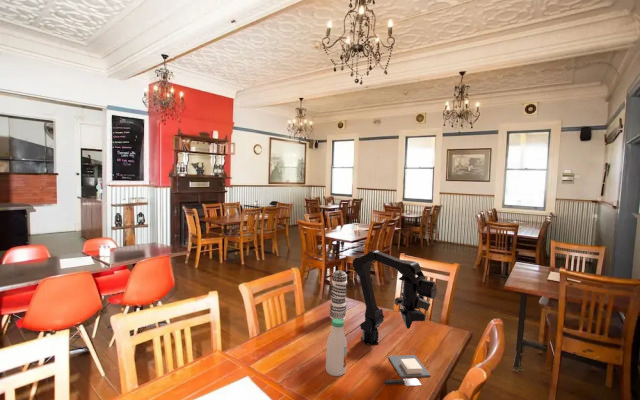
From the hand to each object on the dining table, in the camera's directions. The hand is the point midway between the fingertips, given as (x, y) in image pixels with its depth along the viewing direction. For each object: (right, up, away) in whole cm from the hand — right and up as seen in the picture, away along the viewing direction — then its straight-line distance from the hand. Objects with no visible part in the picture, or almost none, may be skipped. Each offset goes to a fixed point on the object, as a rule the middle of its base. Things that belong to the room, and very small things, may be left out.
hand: (407, 328), depth 138 cm
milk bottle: (-31, -12, -11) cm, 35 cm away
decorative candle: (-28, -9, +37) cm, 47 cm away
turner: (-6, -14, -17) cm, 23 cm away
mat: (-2, -13, -6) cm, 14 cm away
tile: (-2, -11, -5) cm, 12 cm away
